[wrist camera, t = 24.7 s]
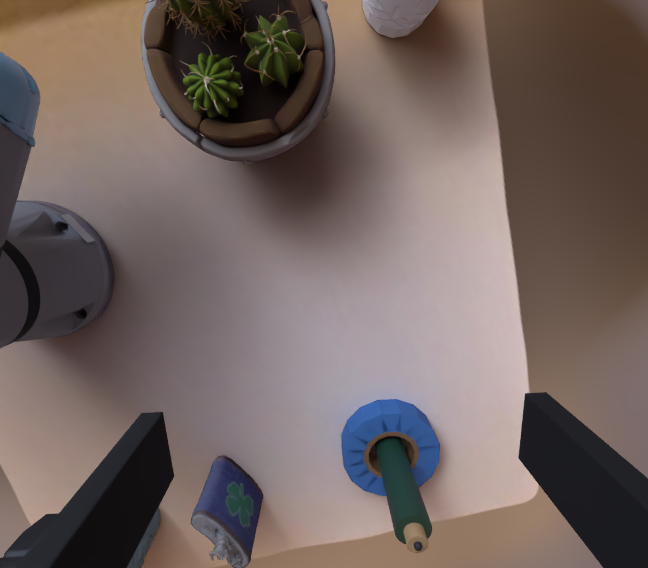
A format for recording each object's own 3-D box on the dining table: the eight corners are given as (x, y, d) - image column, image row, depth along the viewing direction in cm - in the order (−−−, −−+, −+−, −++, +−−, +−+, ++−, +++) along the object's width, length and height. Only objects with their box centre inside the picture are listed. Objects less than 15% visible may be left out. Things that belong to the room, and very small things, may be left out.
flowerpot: (355, 133, 37) (397, 59, 18) (227, 193, 38) (133, 187, 19) (298, -15, 34) (271, -305, 14) (159, 56, 35) (-38, -122, 16)
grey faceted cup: (171, 541, 49) (125, 647, 38) (100, 547, 49) (33, 654, 38) (157, 482, 47) (104, 575, 35) (82, 488, 47) (5, 583, 35)
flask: (209, 461, 46) (178, 537, 36) (226, 449, 46) (200, 523, 36) (252, 506, 48) (235, 591, 38) (269, 496, 48) (256, 578, 38)
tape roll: (343, 479, 47) (344, 498, 45) (340, 401, 45) (341, 415, 42) (430, 475, 48) (438, 493, 45) (433, 397, 45) (441, 410, 42)
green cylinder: (373, 452, 47) (399, 566, 32) (373, 428, 46) (399, 535, 31) (400, 450, 47) (438, 564, 32) (400, 427, 46) (439, 533, 31)
